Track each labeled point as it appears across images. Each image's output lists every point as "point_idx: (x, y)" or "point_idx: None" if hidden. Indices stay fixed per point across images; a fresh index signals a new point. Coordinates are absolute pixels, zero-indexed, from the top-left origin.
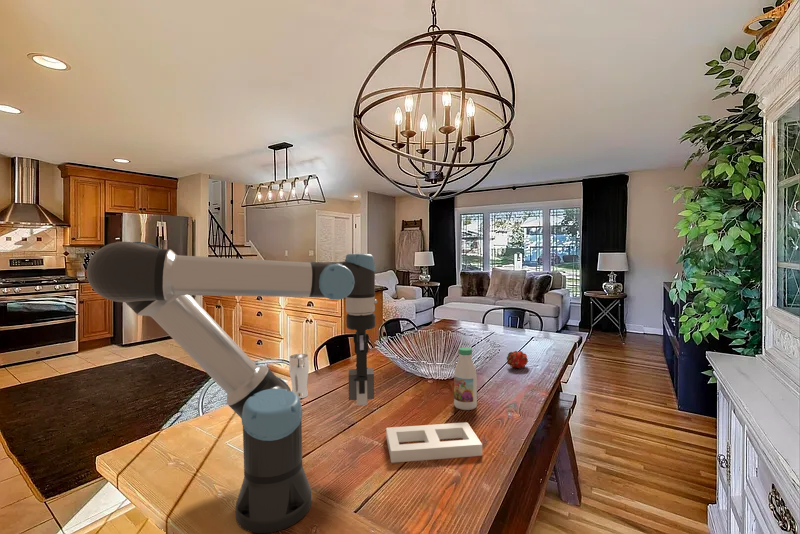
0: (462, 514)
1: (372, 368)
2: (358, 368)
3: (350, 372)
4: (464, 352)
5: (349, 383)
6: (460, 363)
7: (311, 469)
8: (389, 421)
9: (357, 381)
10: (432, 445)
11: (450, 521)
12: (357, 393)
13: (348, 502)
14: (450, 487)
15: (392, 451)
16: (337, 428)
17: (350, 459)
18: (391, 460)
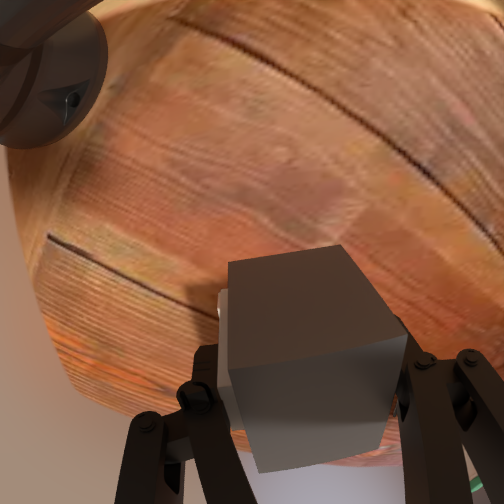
0: (91, 384)
1: (372, 449)
2: (122, 496)
3: (310, 369)
4: (471, 485)
5: (228, 327)
6: (468, 461)
7: (178, 91)
8: (424, 271)
9: (218, 387)
10: None
11: (73, 370)
12: (221, 331)
13: (67, 218)
14: (148, 383)
15: (218, 311)
16: (409, 129)
17: (231, 188)
18: (218, 296)
